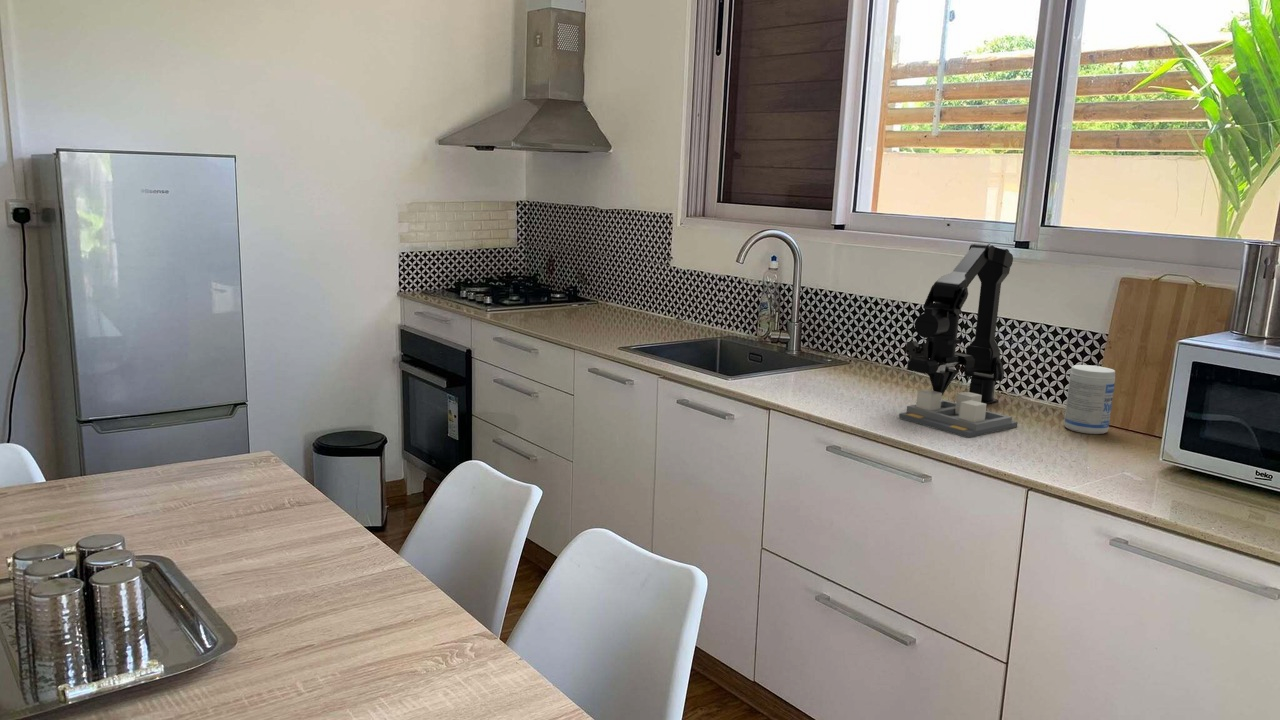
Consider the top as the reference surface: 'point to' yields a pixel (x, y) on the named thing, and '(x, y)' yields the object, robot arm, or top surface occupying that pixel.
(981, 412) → the light grey block
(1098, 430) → the supplement tub
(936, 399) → the beige grey rectangular block
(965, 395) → the light grey block
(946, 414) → the grey compartment tray
